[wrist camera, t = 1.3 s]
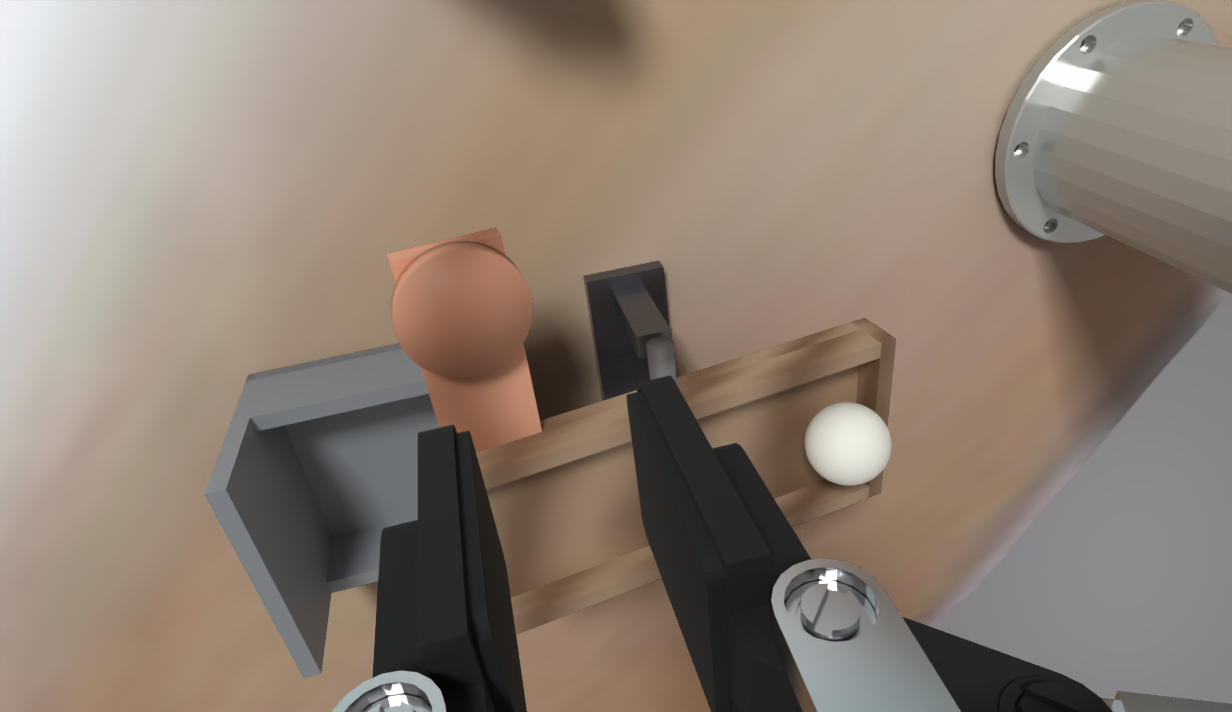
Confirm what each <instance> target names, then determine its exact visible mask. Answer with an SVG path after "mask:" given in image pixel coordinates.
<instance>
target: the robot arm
mask: <svg viewBox="0 0 1232 712" xmlns="http://www.w3.org/2000/svg"><path fill="white" fill-rule="evenodd" d="M995 178H996V184H997V190H998V195H999V197H1000V199H1001V202H1002V204H1003V206H1004V209H1005V211H1006V212H1007V213H1008V214H1009V216H1010V217H1011V218H1012V219H1013V221H1014V222H1015V223H1016V224H1018V225H1019V226H1020V227H1022V228H1023V229H1025V230H1026V231H1027V232H1029V233H1031V234H1033V235H1035V236H1037V237H1039V238H1041V239H1044V240H1048V241H1053V242H1057V243H1080V242H1084V241H1089V240H1093V239H1097V238H1100V237H1102V236H1105V235H1106V236H1109V237H1111V238H1113V239H1115V240H1117V241H1119V242H1122V243H1124V244H1126V245H1128V246H1130V247H1132V248H1134V249H1137V250H1139V251H1141V252H1143V253H1145V254H1147V255H1150V256H1152V257H1154V258H1156V259H1158V260H1160V261H1163V262H1165V263H1167V264H1169V265H1171V266H1173V267H1175V268H1178V269H1180V270H1182V271H1184V272H1186V273H1188V274H1191V275H1193V276H1195V277H1197V278H1199V279H1201V280H1203V281H1206V282H1208V283H1210V284H1212V285H1214V286H1216V287H1219V288H1221V289H1223V290H1225V291H1227V292H1229V293H1232V48H1229V47H1223V46H1218V43H1217V41H1216V39H1215V37H1214V34H1213V32H1212V30H1211V28H1210V26H1209V25H1208V24H1207V23H1206V22H1205V21H1204V20H1203V18H1202V17H1201V16H1200V15H1199V14H1198V13H1196V12H1194V11H1193V10H1191V9H1189V8H1187V7H1186V6H1184V5H1181V4H1177V3H1172V2H1167V1H1159V0H1133V1H1128V2H1122V3H1118V4H1116V5H1113V6H1110V7H1108V8H1105V9H1103V10H1100V11H1098V12H1096V13H1094V14H1093V15H1091V16H1089V17H1088V18H1086V19H1084V20H1083V21H1081V22H1079V23H1078V24H1076V25H1075V26H1074V27H1072V28H1071V29H1070V30H1069V31H1068V32H1066V33H1065V34H1064V35H1063V36H1062V37H1060V38H1059V39H1058V40H1057V41H1055V42H1054V44H1053V45H1052V46H1051V47H1050V48H1049V49H1048V50H1047V51H1046V52H1045V53H1044V54H1043V56H1042V57H1041V58H1040V59H1039V60H1038V61H1037V62H1036V64H1035V65H1034V66H1033V68H1032V69H1031V71H1030V72H1029V73H1028V75H1027V76H1026V78H1025V79H1024V81H1023V82H1022V83H1021V85H1020V87H1019V89H1018V91H1017V93H1016V95H1015V96H1014V98H1013V100H1012V102H1011V104H1010V106H1009V108H1008V111H1007V114H1006V116H1005V119H1004V122H1003V125H1002V127H1001V130H1000V134H999V139H998V144H997V149H996V155H995ZM626 399H627V408H628V415H629V423H630V431H631V438H632V446H633V454H634V461H635V469H636V477H637V484H638V492H639V500H640V507H641V515H642V521H643V526H644V530H645V533H646V537H647V540H648V542H649V545H650V548H651V550H652V553H653V556H654V558H655V561H656V564H657V567H658V569H659V572H660V575H661V577H662V580H663V583H664V585H665V588H666V591H667V593H668V596H669V599H670V602H671V604H672V607H673V610H674V612H675V615H676V618H677V620H678V623H679V626H680V629H681V631H682V634H683V637H684V639H685V642H686V645H687V647H688V650H689V653H690V655H691V658H692V661H693V664H694V666H695V669H696V672H697V674H698V677H699V680H700V682H701V685H702V688H703V690H704V693H705V696H706V699H707V701H708V704H709V707H710V709H711V712H1232V704H1229V703H1220V702H1211V701H1202V700H1193V699H1184V698H1176V697H1167V696H1158V695H1150V694H1141V693H1132V692H1123V691H1118V692H1117V694H1116V696H1115V699H1107V698H1100V697H1099V696H1097V695H1096V694H1095V693H1093V692H1092V691H1090V690H1089V689H1088V688H1086V687H1085V686H1084V685H1083V684H1081V683H1079V682H1077V681H1074V680H1072V679H1070V678H1068V677H1066V676H1064V675H1062V674H1060V673H1057V672H1054V671H1051V670H1048V669H1046V668H1043V667H1040V666H1037V665H1035V664H1032V663H1029V662H1026V661H1024V660H1021V659H1018V658H1015V657H1012V656H1010V655H1007V654H1004V653H1001V652H999V651H996V650H993V649H990V648H987V647H985V646H982V645H979V644H977V643H974V642H971V641H968V640H965V639H963V638H960V637H957V636H954V635H951V634H949V633H946V632H943V631H940V630H938V629H935V628H932V627H929V626H927V625H924V624H921V623H918V622H916V621H913V620H910V619H907V618H904V617H902V616H901V614H900V613H899V611H898V609H897V608H896V606H895V605H894V603H893V601H892V600H891V598H890V597H889V595H888V593H887V592H886V590H885V589H884V588H883V587H882V585H881V584H880V583H879V582H878V581H877V580H876V578H875V577H873V576H872V575H870V574H869V573H868V572H866V571H865V570H863V569H862V568H860V567H858V566H855V565H853V564H850V563H847V562H845V561H841V560H834V559H827V558H823V559H812V560H811V558H810V556H809V555H808V553H807V552H806V550H805V548H804V547H803V545H802V543H801V542H800V540H799V538H798V537H797V535H796V534H795V532H794V530H793V529H792V527H791V525H790V524H789V522H788V521H787V519H786V517H785V516H784V514H783V512H782V511H781V509H780V508H779V506H778V504H777V503H776V501H775V499H774V498H773V496H772V495H771V493H770V491H769V490H768V488H767V486H766V485H765V483H764V482H763V480H762V478H761V477H760V475H759V473H758V472H757V470H756V469H755V467H754V465H753V464H752V462H751V460H750V459H749V457H748V456H747V454H746V452H745V451H744V449H743V448H742V447H741V445H739V444H738V443H733V444H729V445H725V446H721V447H716V448H712V447H711V445H710V443H709V442H708V440H707V438H706V436H705V434H704V433H703V431H702V429H701V427H700V425H699V424H698V422H697V420H696V418H695V416H694V415H693V413H692V411H691V409H690V407H689V406H688V404H687V402H686V400H685V398H684V397H683V395H682V393H681V391H680V389H679V388H678V386H677V384H676V382H675V380H674V379H673V377H672V376H665V377H661V378H656V379H652V380H648V381H643V382H639V383H638V384H637V392H635V393H631V394H627V397H626ZM332 712H527V710H526V703H525V696H524V688H523V681H522V674H521V667H520V660H519V652H518V645H517V638H516V631H515V624H514V616H513V609H512V602H511V595H510V588H509V580H508V574H507V568H506V563H505V558H504V554H503V550H502V546H501V543H500V539H499V535H498V532H497V528H496V524H495V521H494V517H493V513H492V510H491V506H490V502H489V499H488V495H487V491H486V488H485V484H484V480H483V477H482V473H481V469H480V466H479V462H478V458H477V455H476V451H475V447H474V444H473V440H472V437H471V433H470V431H464V432H460V433H457V431H456V428H455V426H454V425H449V426H444V427H440V428H435V429H431V430H427V431H422V432H419V433H418V520H415V521H410V522H406V523H402V524H398V525H394V526H390V527H386V528H384V529H383V530H382V533H381V541H380V558H379V576H378V593H377V611H376V628H375V646H374V663H373V678H371V679H369V680H367V681H365V682H363V683H361V684H360V685H359V686H357V687H356V688H355V689H353V690H352V691H350V692H349V693H348V694H346V695H345V697H344V698H343V699H342V700H341V701H340V702H339V703H338V704H337V706H336V707H335V708H334V709H333V710H332Z"/></svg>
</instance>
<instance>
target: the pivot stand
mask: <svg viewBox="0 0 1232 712" xmlns="http://www.w3.org/2000/svg"><path fill="white" fill-rule="evenodd" d="M584 283H585V290H586V296H587V303H588V309H589V316H590V323H591V329H592V336H593V342H594V349H595V356H596V362H597V369H598V375H599V382H600V389H601V395H602V401H604V400H607V399H610V398H613V397H617V396H620V395H623V394H626V393H629V392H632V391H636V390H637V384H638V383H639V382H643V381H648V380H650V376H649V367H648V357H647V348H646V344H647V342H648V341H649V340H651V339H653V338H656V337H667V338H670V339H671V340H672V338H671V329H670V328H669V326H668V316H667V304H666V293H665V282H664V270H663V266H662V264H661V263H660V262H659V261H655V262H651V263H646V264H641V265H636V266H631V267H626V268H621V269H616V270H611V271H607V272H602V273H597V274H592V275H587V276H584Z"/></svg>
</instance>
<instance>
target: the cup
mask: <svg viewBox="0 0 1232 712" xmlns="http://www.w3.org/2000/svg"><path fill="white" fill-rule="evenodd" d="M435 428H439V425H438V422H437V419H436V415H435V412H434V409H433V405H432V402H431V399H430V395H429V392H428V389H427V385H426V382H425V379H424V375H423V372H422V369H421V367H420V366H419V365H417V364H416V363H415V362H414V361H413V360H411V359H410V358H409V357H408V355H407V354H406V353H405V352H404V350H403V349H402V347H401V345H400V343H399V344H394V345H389V346H384V347H380V348H375V349H370V350H365V351H360V352H356V353H351V354H346V355H341V356H337V357H332V358H327V359H322V360H318V361H313V362H308V363H303V364H298V365H294V366H289V367H284V368H279V369H275V370H270V371H265V372H260V373H256V374H251V375H248V377H247V380H246V382H245V385H244V388H243V391H242V393H241V396H240V399H239V401H238V404H237V407H236V410H235V412H234V415H233V418H232V421H231V423H230V426H229V429H228V432H227V434H226V437H225V440H224V442H223V445H222V448H221V451H220V453H219V456H218V459H217V462H216V464H215V467H214V470H213V473H212V475H211V478H210V481H209V483H208V486H207V489H206V492H205V496H206V498H207V500H208V502H209V504H210V506H211V507H212V509H213V511H214V513H215V515H216V517H217V519H218V520H219V522H220V524H221V526H222V528H223V530H224V531H225V533H226V535H227V537H228V539H229V541H230V543H231V544H232V546H233V548H234V550H235V552H236V554H237V555H238V557H239V559H240V561H241V563H242V565H243V567H244V568H245V570H246V572H247V574H248V576H249V578H250V579H251V581H252V583H253V585H254V587H255V589H256V591H257V592H258V594H259V596H260V598H261V600H262V602H263V604H264V605H265V607H266V609H267V611H268V613H269V615H270V616H271V618H272V620H273V622H274V624H275V626H276V628H277V629H278V631H279V633H280V635H281V637H282V639H283V640H284V642H285V644H286V646H287V648H288V650H289V652H290V653H291V655H292V657H293V659H294V661H295V663H296V664H297V666H298V668H299V670H300V672H301V674H302V676H303V677H304V678H306V677H310V676H314V675H318V674H321V671H322V663H323V655H324V647H325V639H326V631H327V623H328V615H329V607H330V599H331V593H333V592H337V591H341V590H345V589H349V588H353V587H357V586H361V585H365V584H369V583H373V582H377V581H378V576H379V558H380V541H381V533H382V530H383V529H384V528H386V527H390V526H394V525H398V524H402V523H406V522H410V521H415V520H418V433H419V432H422V431H427V430H431V429H435Z"/></svg>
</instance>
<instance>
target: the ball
mask: <svg viewBox="0 0 1232 712" xmlns="http://www.w3.org/2000/svg"><path fill="white" fill-rule="evenodd" d="M805 450H806V455H807V457H808V460H809V462H810V463H811V465H812V467H813V468H814V469H815V470H816V472H817V473H819V474H820V475H821V476H822V477H824V478H825V479H827V480H828V481H831V482H833V483H836V484H839V485H846V486H853V485H860V484H863V483H866V482H868V481H870V480H872V479H874V478H875V477H876V476H878V475H879V474H880V473H881V472H882V470H883V469H884V468H885V466H886V465H887V463H888V460H889V457H890V454H891V437H890V433H889V430H888V428H887V426H886V424H885V423H884V421H883V420H882V419H881V417H880V416H879V415H878V414H877V413H875V412H874V411H873V410H871V409H870V408H868V407H866V406H864V405H861V404H857V403H852V402H842V403H836V404H833V405H830V406H827V407H826V408H824V409H822V410H821V411H820V412H818V413H817V414H816V415H815V416H814V418H813V419H812V420H811V422H810V423H809V425H808V428H807V430H806V434H805Z"/></svg>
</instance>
